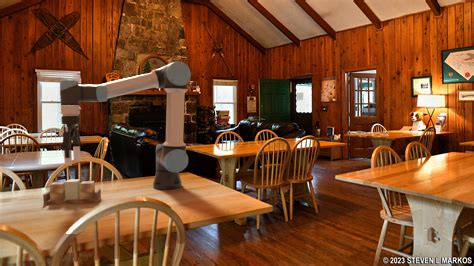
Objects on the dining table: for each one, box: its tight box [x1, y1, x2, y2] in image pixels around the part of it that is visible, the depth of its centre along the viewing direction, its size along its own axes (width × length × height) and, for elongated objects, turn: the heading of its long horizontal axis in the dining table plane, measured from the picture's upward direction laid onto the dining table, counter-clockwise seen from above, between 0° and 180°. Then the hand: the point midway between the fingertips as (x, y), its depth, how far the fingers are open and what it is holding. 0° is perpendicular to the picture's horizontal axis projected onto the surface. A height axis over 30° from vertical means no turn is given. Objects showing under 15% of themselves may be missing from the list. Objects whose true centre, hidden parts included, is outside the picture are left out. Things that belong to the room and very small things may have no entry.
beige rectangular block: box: [64, 178, 81, 200], centre depth 159 cm, size 5×5×8 cm
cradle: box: [42, 180, 102, 206], centre depth 159 cm, size 22×8×8 cm, turn 100°
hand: (72, 162), depth 158 cm, fingers open, 13 cm apart
